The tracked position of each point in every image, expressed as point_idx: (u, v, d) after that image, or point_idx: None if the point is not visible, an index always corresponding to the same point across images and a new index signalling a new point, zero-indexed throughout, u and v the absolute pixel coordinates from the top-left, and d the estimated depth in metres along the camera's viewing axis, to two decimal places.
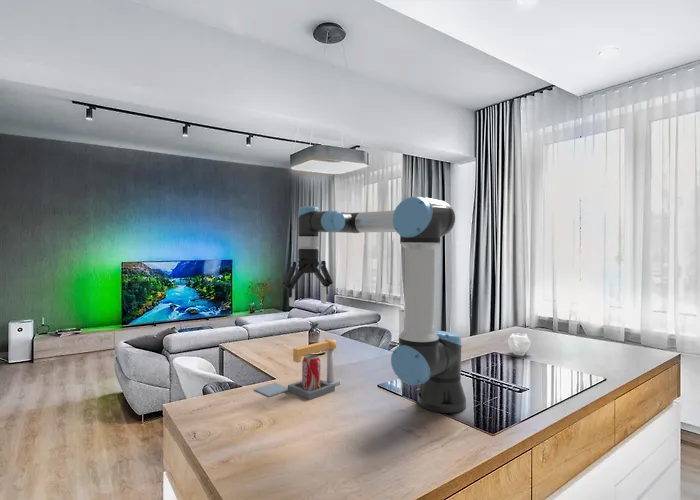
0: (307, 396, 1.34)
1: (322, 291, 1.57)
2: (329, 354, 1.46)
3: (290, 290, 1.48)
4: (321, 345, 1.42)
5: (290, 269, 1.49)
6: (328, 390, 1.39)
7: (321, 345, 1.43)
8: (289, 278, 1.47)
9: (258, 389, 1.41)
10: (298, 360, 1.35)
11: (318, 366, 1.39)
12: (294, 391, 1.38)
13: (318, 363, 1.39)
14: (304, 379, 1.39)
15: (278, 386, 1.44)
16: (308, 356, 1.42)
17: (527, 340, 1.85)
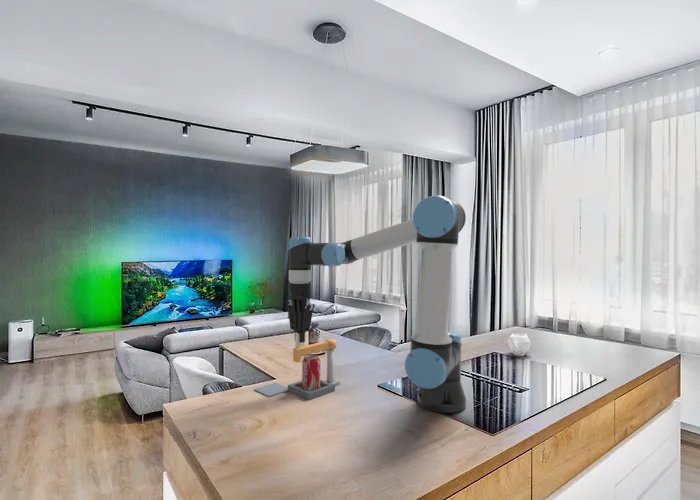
0: (307, 396, 1.34)
1: None
2: (329, 354, 1.46)
3: None
4: (321, 345, 1.42)
5: None
6: (328, 390, 1.39)
7: (321, 345, 1.43)
8: (290, 319, 1.41)
9: (258, 389, 1.41)
10: (298, 360, 1.35)
11: (318, 366, 1.39)
12: (294, 391, 1.38)
13: (318, 363, 1.39)
14: (304, 379, 1.39)
15: (278, 386, 1.44)
16: (308, 356, 1.42)
17: (527, 340, 1.85)
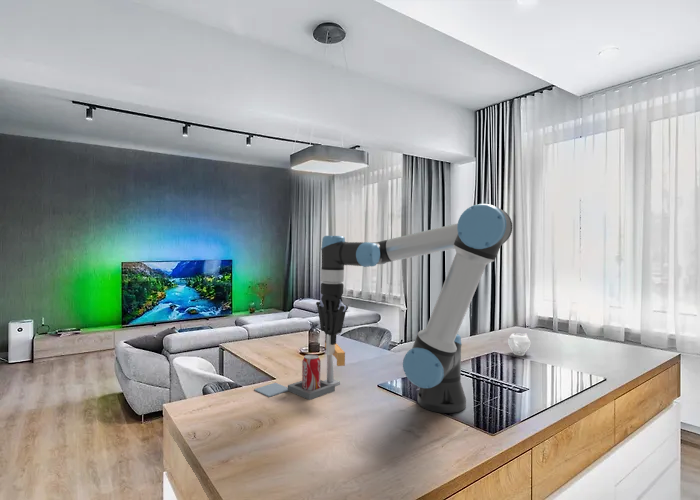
0: (307, 396, 1.34)
1: None
2: None
3: (326, 335, 1.35)
4: None
5: None
6: (328, 390, 1.39)
7: None
8: (320, 321, 1.36)
9: (258, 389, 1.41)
10: (344, 363, 1.33)
11: (318, 366, 1.39)
12: (294, 391, 1.38)
13: (318, 363, 1.39)
14: (304, 379, 1.39)
15: (278, 386, 1.44)
16: (308, 356, 1.42)
17: (527, 340, 1.85)
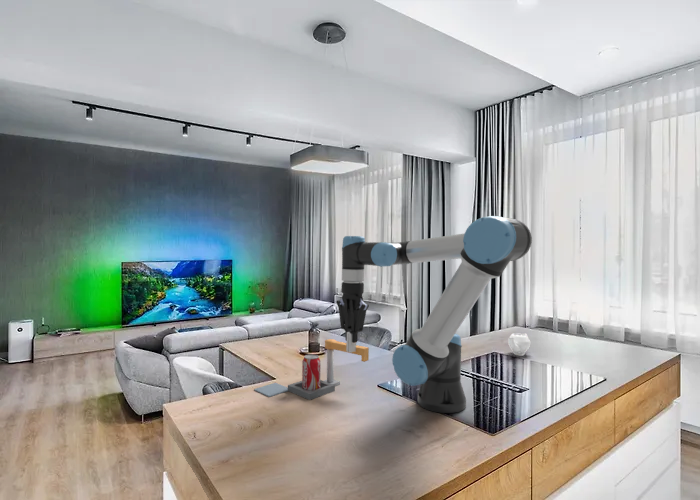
0: (307, 396, 1.34)
1: None
2: (329, 354, 1.46)
3: (346, 333, 1.39)
4: None
5: None
6: (328, 390, 1.39)
7: None
8: (340, 319, 1.40)
9: (258, 389, 1.41)
10: None
11: (318, 366, 1.39)
12: (294, 391, 1.38)
13: (318, 363, 1.39)
14: (304, 379, 1.39)
15: (278, 386, 1.44)
16: (308, 356, 1.42)
17: (527, 340, 1.85)
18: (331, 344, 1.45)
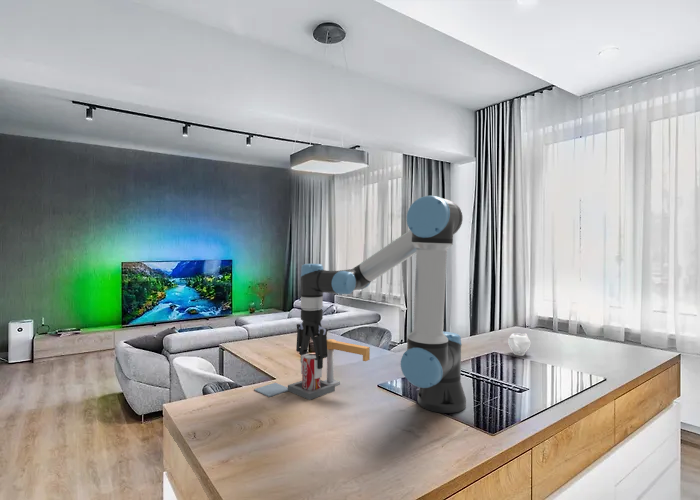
0: (307, 396, 1.34)
1: None
2: (329, 354, 1.46)
3: None
4: None
5: None
6: (328, 390, 1.39)
7: None
8: (297, 342, 1.44)
9: (258, 389, 1.41)
10: None
11: None
12: (294, 391, 1.38)
13: None
14: (304, 379, 1.39)
15: (278, 386, 1.44)
16: (308, 356, 1.42)
17: (527, 340, 1.85)
18: (331, 344, 1.45)
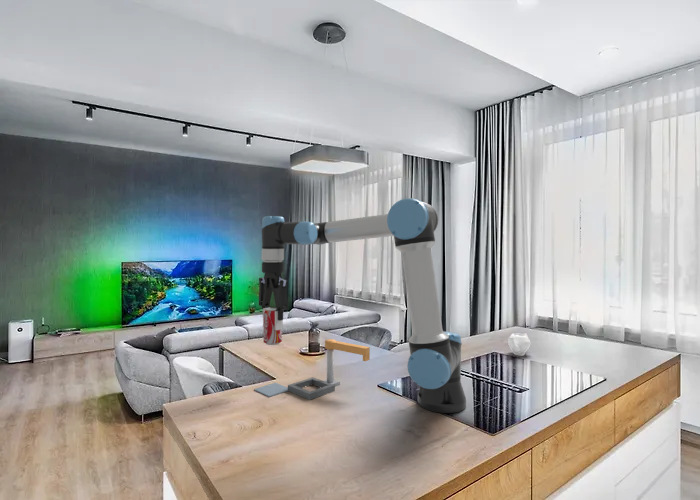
0: (307, 396, 1.34)
1: None
2: (329, 354, 1.46)
3: None
4: None
5: None
6: (328, 390, 1.39)
7: None
8: (259, 296, 1.44)
9: (258, 389, 1.41)
10: None
11: None
12: (294, 391, 1.38)
13: None
14: (265, 331, 1.39)
15: (278, 386, 1.44)
16: (270, 309, 1.42)
17: (527, 340, 1.85)
18: (331, 344, 1.45)
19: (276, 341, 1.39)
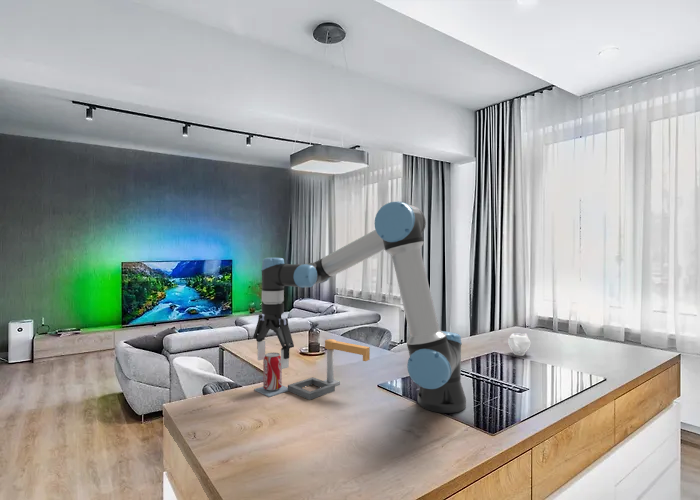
0: (307, 396, 1.34)
1: None
2: (329, 354, 1.46)
3: None
4: None
5: None
6: (328, 390, 1.39)
7: None
8: (256, 330, 1.46)
9: (258, 389, 1.41)
10: None
11: (279, 364, 1.40)
12: (294, 391, 1.38)
13: (279, 361, 1.40)
14: (265, 377, 1.39)
15: None
16: (269, 354, 1.42)
17: (527, 340, 1.85)
18: (331, 344, 1.45)
19: (276, 387, 1.39)
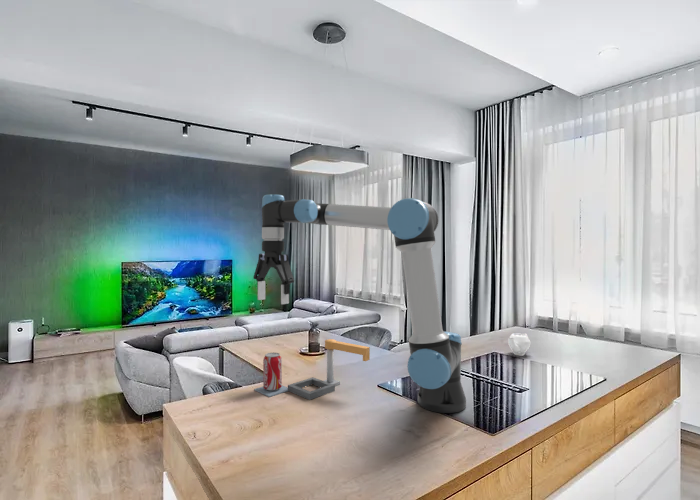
0: (307, 396, 1.34)
1: None
2: (329, 354, 1.46)
3: None
4: None
5: None
6: (328, 390, 1.39)
7: None
8: (256, 270, 1.46)
9: (258, 389, 1.41)
10: None
11: (279, 364, 1.40)
12: (294, 391, 1.38)
13: (279, 361, 1.40)
14: (265, 377, 1.39)
15: None
16: (269, 354, 1.42)
17: (527, 340, 1.85)
18: (331, 344, 1.45)
19: (276, 387, 1.39)
